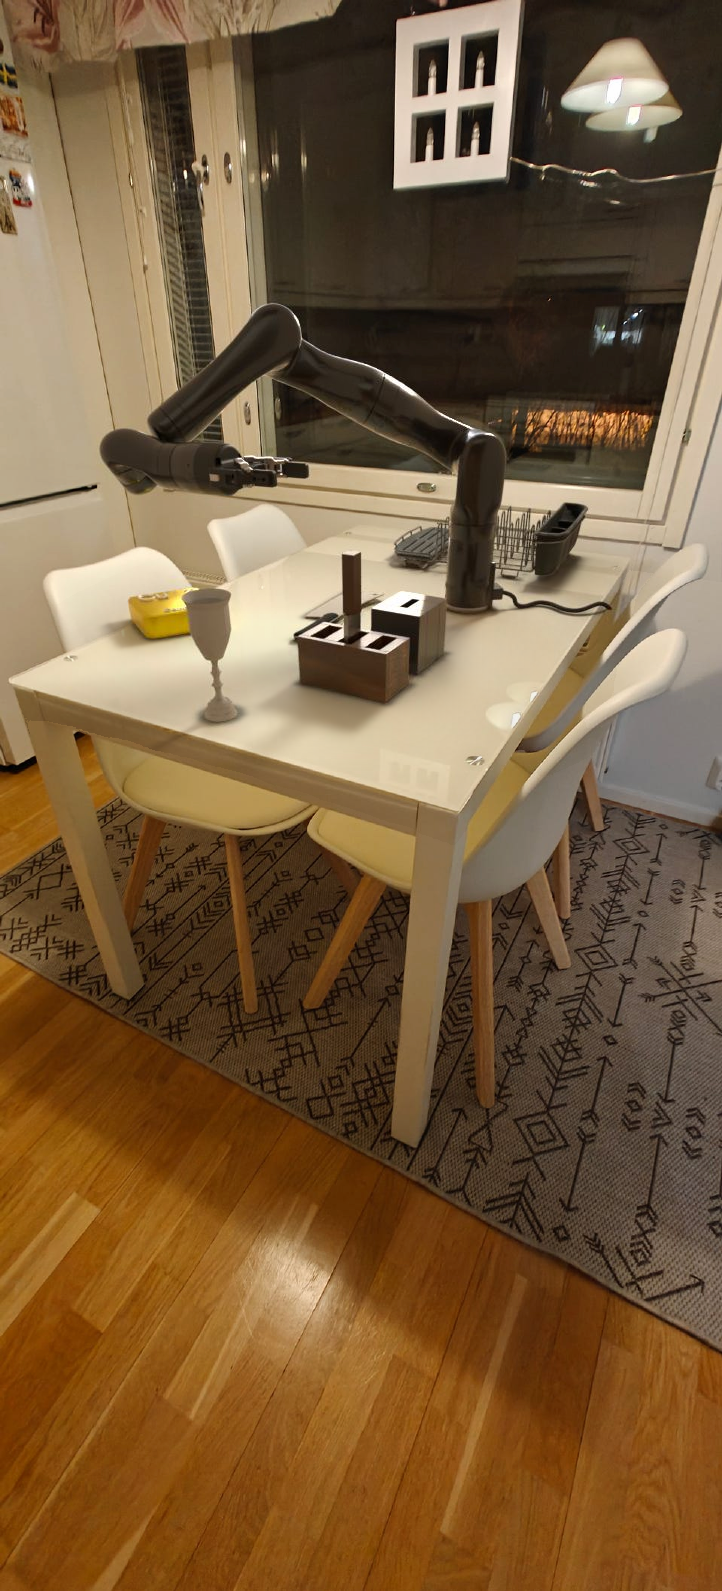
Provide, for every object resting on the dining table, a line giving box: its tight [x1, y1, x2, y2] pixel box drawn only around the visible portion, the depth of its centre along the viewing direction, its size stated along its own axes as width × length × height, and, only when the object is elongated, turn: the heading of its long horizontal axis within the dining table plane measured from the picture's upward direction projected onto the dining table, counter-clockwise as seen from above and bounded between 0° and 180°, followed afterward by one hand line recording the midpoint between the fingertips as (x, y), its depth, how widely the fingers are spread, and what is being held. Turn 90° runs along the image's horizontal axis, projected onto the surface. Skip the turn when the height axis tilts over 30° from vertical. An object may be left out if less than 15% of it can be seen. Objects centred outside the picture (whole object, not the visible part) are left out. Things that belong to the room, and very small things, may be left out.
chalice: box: [181, 587, 239, 723], centre depth 104 cm, size 7×7×18 cm
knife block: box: [370, 590, 448, 675], centre depth 124 cm, size 11×9×10 cm
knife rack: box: [296, 622, 410, 703], centre depth 116 cm, size 8×16×8 cm, turn 61°
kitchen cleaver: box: [292, 591, 385, 642], centre depth 147 cm, size 31×2×10 cm
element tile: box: [127, 587, 199, 640], centre depth 143 cm, size 15×15×5 cm
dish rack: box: [393, 501, 589, 579], centre depth 181 cm, size 34×44×12 cm
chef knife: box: [341, 550, 362, 645], centre depth 112 cm, size 4×2×21 cm, turn 150°
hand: (292, 474), depth 107 cm, fingers open, 8 cm apart
